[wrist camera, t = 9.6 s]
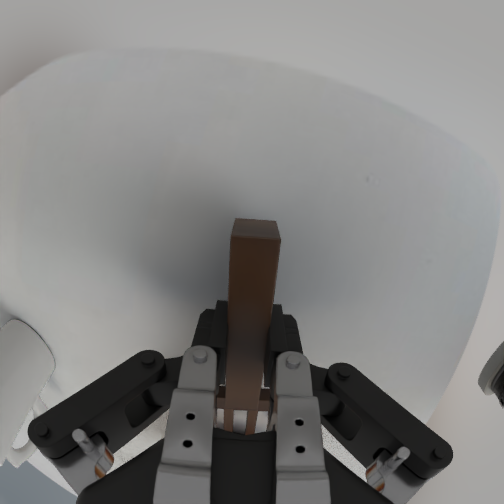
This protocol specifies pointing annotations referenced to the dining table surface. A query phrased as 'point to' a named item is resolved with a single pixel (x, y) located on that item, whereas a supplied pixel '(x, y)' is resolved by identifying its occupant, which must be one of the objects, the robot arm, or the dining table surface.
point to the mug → (21, 385)
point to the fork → (249, 317)
